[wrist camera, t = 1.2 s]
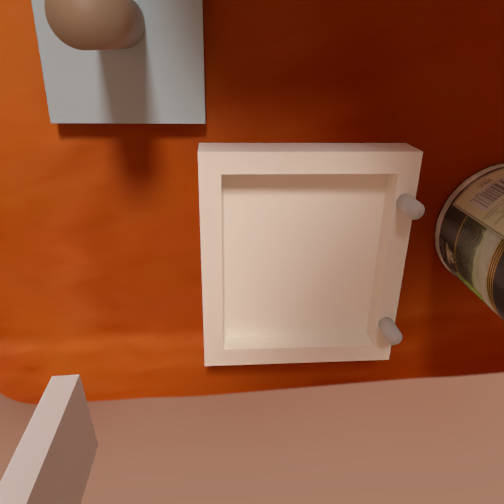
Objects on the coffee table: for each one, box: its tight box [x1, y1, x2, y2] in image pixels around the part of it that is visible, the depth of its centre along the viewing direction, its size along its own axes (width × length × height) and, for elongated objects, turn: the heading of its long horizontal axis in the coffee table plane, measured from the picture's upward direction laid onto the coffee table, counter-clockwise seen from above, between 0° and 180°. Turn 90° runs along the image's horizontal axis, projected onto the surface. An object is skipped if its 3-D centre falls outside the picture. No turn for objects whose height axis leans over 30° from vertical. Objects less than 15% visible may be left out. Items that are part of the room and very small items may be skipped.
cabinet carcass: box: [198, 143, 425, 366], centre depth 34 cm, size 17×15×5 cm
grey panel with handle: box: [31, 0, 206, 124], centre depth 25 cm, size 12×10×11 cm
